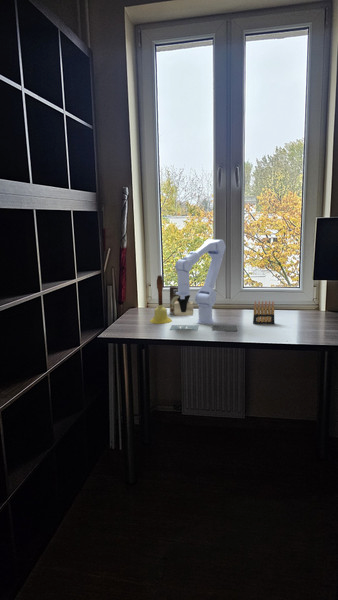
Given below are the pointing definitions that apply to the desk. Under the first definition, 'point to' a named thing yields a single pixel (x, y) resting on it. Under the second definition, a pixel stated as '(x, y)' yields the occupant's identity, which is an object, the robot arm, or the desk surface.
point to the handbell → (160, 306)
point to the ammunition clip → (263, 313)
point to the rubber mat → (224, 328)
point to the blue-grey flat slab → (184, 327)
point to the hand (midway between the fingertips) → (184, 310)
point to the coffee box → (173, 298)
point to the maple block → (178, 312)
